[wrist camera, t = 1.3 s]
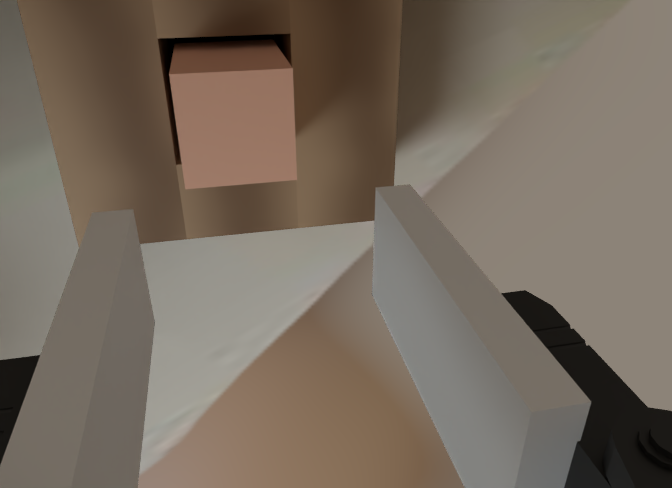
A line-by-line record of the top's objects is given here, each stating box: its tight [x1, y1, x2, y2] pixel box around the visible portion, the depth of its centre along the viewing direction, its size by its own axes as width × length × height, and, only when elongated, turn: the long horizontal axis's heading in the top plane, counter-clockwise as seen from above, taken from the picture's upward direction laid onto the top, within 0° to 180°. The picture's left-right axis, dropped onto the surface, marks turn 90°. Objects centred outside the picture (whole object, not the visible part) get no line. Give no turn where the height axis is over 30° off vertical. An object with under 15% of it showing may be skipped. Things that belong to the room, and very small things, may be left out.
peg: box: [169, 39, 297, 189], centre depth 22 cm, size 4×4×6 cm
